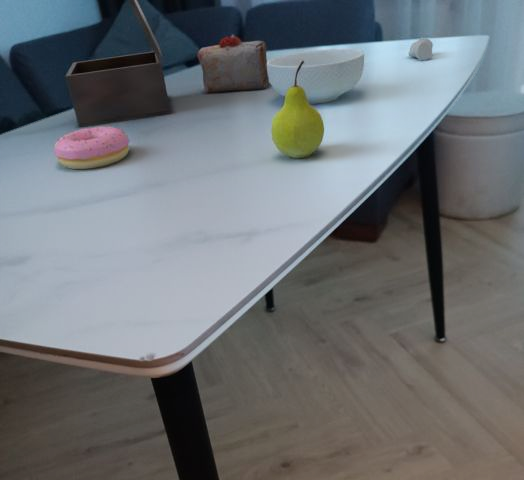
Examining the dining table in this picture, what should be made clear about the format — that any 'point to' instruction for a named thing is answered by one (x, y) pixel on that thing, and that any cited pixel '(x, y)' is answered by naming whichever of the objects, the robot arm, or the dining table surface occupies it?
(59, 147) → the doughnut
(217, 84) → the food item
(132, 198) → the dining table surface
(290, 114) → the fruit
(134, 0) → the lid
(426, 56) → the pale two-lobed sculpture
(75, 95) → the chest
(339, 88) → the cereal bowl
